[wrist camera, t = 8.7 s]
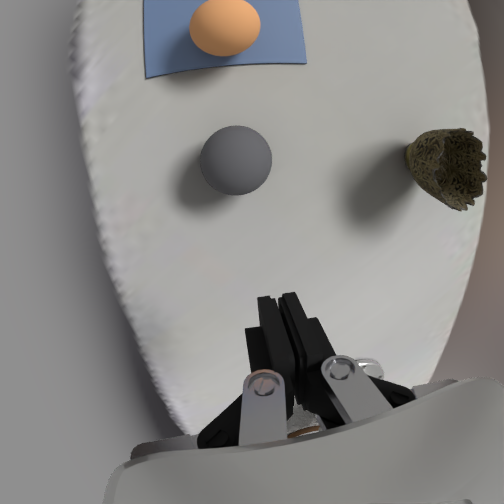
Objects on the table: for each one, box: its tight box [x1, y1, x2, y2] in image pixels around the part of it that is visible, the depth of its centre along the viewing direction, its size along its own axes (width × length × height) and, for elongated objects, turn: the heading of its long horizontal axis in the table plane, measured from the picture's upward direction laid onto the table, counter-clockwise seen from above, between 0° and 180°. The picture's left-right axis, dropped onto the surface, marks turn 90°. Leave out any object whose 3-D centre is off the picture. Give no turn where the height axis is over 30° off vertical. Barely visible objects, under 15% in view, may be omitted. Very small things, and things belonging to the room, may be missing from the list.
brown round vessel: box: [405, 128, 487, 211], centre depth 21 cm, size 8×7×8 cm
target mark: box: [144, 0, 307, 78], centre depth 17 cm, size 14×14×1 cm
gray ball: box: [200, 126, 272, 195], centre depth 21 cm, size 6×6×6 cm
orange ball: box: [189, 0, 260, 56], centre depth 16 cm, size 6×6×6 cm
